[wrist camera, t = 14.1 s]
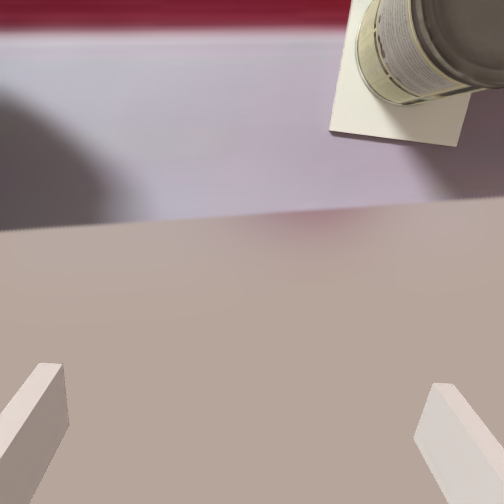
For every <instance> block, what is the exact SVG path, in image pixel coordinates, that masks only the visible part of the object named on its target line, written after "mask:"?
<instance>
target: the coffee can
mask: <svg viewBox="0 0 504 504" xmlns="http://www.w3.org/2000/svg"><path fill="white" fill-rule="evenodd" d="M355 60H356V64H357V68H358V72H359V74H360V76H361V79H362V80H363V82H364V83H365V85H366V86H367V88H368V89H369V90H370V91H371V92H372V93H373V94H374V95H375V96H376V97H378V98H380V99H381V100H383V101H385V102H387V103H390V104H392V105H397V106H406V107H409V106H417V105H421V104H424V103H427V102H431V101H435V100H440V99H444V98H449V97H454V96H458V95H463V94H468V93H472V92H478V91H482V90H487V89H500V88H504V0H372V1H371V3H370V4H369V5H368V7H367V8H366V10H365V12H364V14H363V16H362V18H361V20H360V23H359V26H358V29H357V34H356V39H355Z"/></svg>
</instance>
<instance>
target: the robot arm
mask: <svg viewBox="0 0 504 504" xmlns="http://www.w3.org/2000/svg"><path fill="white" fill-rule="evenodd" d="M68 426H69V418H68V409H67V399H66V390H65V381H64V371H63V364H57V363H38V365H37V366H36V368H35V369H34V370H33V371H32V373H31V374H30V375H29V377H28V378H27V379H26V381H25V382H24V383H23V385H22V386H21V388H20V389H19V390H18V392H17V393H16V394H15V395H14V397H13V398H12V399H11V401H10V402H9V404H8V405H7V406H6V408H5V409H4V410H3V412H2V413H1V414H0V504H29V503H30V501H31V499H32V497H33V495H34V493H35V491H36V489H37V487H38V485H39V483H40V481H41V479H42V477H43V475H44V473H45V472H46V470H47V468H48V466H49V464H50V462H51V460H52V458H53V456H54V454H55V452H56V450H57V448H58V446H59V444H60V442H61V440H62V438H63V436H64V434H65V432H66V430H67V429H68ZM414 440H415V442H416V444H417V446H418V448H419V450H420V452H421V454H422V455H423V457H424V459H425V461H426V463H427V465H428V467H429V468H430V470H431V472H432V474H433V476H434V478H435V480H436V482H437V483H438V485H439V487H440V489H441V491H442V493H443V495H444V497H445V498H446V500H447V502H448V504H504V449H503V447H502V446H501V445H500V444H499V442H498V441H497V440H496V438H495V437H494V436H493V435H492V434H491V432H490V431H489V429H488V428H487V427H486V426H485V424H484V423H483V422H482V420H481V419H480V418H479V417H478V415H477V414H476V413H475V411H474V410H473V409H472V408H471V407H470V405H469V404H468V402H467V401H466V400H465V399H464V397H463V396H462V395H461V393H460V392H459V391H458V390H457V388H456V387H455V386H454V385H453V384H445V383H433V385H432V388H431V390H430V393H429V396H428V399H427V402H426V405H425V408H424V410H423V413H422V416H421V418H420V421H419V424H418V427H417V430H416V432H415V435H414Z"/></svg>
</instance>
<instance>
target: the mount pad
mask: <svg viewBox="0 0 504 504" xmlns="http://www.w3.org/2000/svg"><path fill="white" fill-rule="evenodd" d="M371 1H372V0H352V1H351V6H350V12H349V18H348V23H347V29H346V35H345V40H344V46H343V52H342V57H341V63H340V69H339V74H338V80H337V86H336V91H335V97H334V102H333V108H332V114H331V119H330V125H329V131H337V132H344V133H352V134H360V135H367V136H375V137H383V138H390V139H398V140H406V141H414V142H421V143H429V144H437V145H444V146H452V147H457V143H458V140H459V136H460V133H461V129H462V125H463V122H464V118H465V115H466V111H467V108H468V104H469V100H470V97H471V93H468V94H463V95H458V96H454V97H449V98H444V99H440V100H435V101H431V102H427V103H424V104H421V105H417V106H409V107H406V106H397V105H392V104H390V103H387V102H385V101H383V100H381V99H380V98H378V97H376V96H375V95H374V94H373V93H372V92H371V91H370V90H369V89H368V88H367V86H366V85H365V83H364V82H363V80H362V79H361V76H360V74H359V72H358V68H357V64H356V60H355V39H356V34H357V29H358V26H359V23H360V20H361V18H362V16H363V14H364V12H365V10H366V8H367V7H368V5H369V4H370V3H371Z"/></svg>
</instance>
